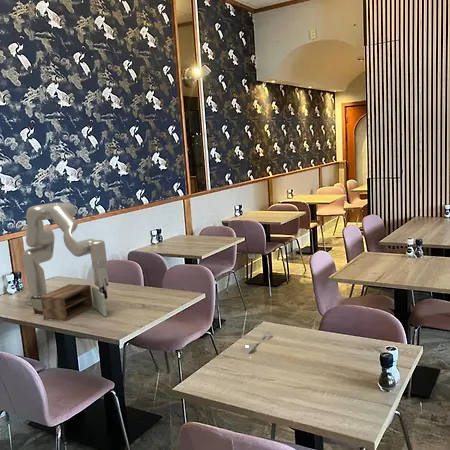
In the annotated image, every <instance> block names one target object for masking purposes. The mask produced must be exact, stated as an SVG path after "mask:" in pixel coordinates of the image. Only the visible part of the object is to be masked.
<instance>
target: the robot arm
mask: <svg viewBox="0 0 450 450" xmlns="http://www.w3.org/2000/svg"><path fill="white" fill-rule="evenodd" d="M76 209H77V208H76V207H75V206H74V204H73V203H69V202H50V203H43V204H38V205H32V206H30V207H29V208H27V210H26V223H27V224H26V236H25V243H26V246H27V247H28V249H26V250H24V251H23V252H22V253H21V261H22V263H23V267H24V270H25V276H26V282H27V287H28V293H27V295H26V296H25V299H27V300H28V301H27V305H29V306H32V301H31V300H30V297H31V296H32V295H36V294H48V291H47V285H46V276H45V271H44V268H43V267H42V266H41V265H40V264H41V263H45V262H49V261H51V260H52V258H53V255H54V248H55V239H56V238H55V233H54V231H53V230H52V229H51V228H49V227H44V221H46V220H52V221H53V222H54V223H55V224H56V225H57V226H58V228H59V229H60V230H61V231H62V232H63V236H62V237H63V243H64V246H65V247H66V248H67V250H68V251H69V252H70V253H71V254H72V255H73V256H74V257H78V258H80V257H84V256H87V255H90V259H91V266H92V269H93V282H94V286H95V287H97V288H98V290H99V291H101V292H102V293H103V294H104V297H105V299H106V300H107V299H108V288H107V287H109V285H110V284H109V274H108V270H107V268H108V260H107V251H106V243H105V241H104V240H103V239H94V238H87V239H84V240H80V241H77V240H76V239H75V238H74V236H73V233H74V232H75V231H76V230H77V228H78V222H77V221H76V219H74V217H75V216H76V214H77V210H76Z"/></svg>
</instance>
